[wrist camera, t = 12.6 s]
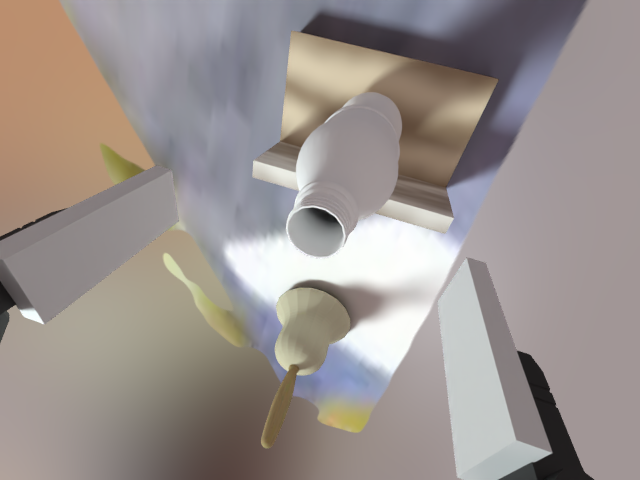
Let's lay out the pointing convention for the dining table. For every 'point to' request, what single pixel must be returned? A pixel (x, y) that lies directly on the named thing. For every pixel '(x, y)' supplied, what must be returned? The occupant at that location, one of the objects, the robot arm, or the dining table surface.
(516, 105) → the dining table surface
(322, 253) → the water bottle
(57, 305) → the robot arm
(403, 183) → the board
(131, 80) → the dining table surface
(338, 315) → the handbell
